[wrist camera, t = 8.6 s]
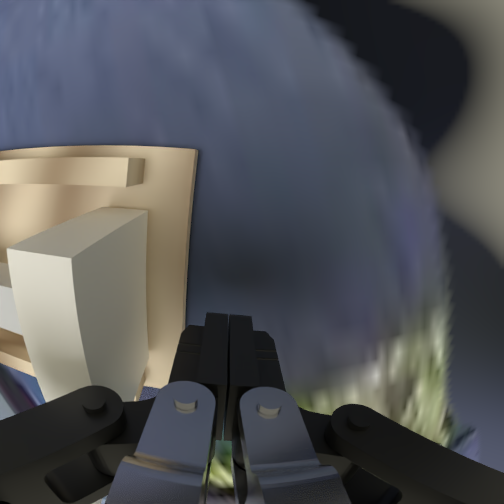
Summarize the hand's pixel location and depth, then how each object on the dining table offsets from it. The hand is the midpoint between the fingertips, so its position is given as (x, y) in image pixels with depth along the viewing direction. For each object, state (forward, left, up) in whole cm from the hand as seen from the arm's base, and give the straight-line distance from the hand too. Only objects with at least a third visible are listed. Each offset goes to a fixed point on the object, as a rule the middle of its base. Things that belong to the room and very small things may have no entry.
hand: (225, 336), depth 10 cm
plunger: (+8, 0, -2) cm, 9 cm away
